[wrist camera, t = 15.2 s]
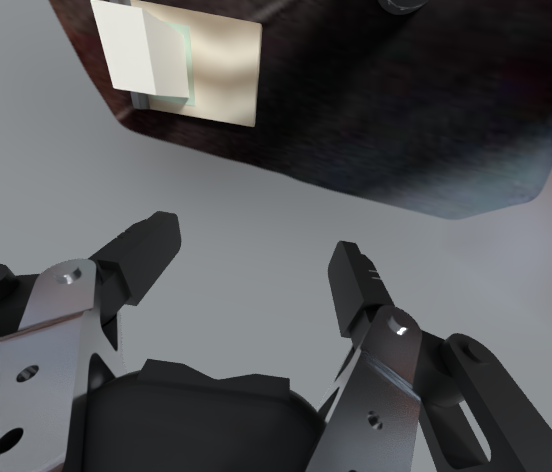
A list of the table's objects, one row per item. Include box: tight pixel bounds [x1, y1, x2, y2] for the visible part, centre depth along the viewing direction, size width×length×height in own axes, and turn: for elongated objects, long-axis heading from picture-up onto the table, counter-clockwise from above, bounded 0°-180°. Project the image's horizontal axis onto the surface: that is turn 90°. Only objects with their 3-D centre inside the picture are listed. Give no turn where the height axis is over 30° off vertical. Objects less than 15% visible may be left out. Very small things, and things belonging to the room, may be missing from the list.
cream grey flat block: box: [110, 0, 262, 127], centre depth 28 cm, size 12×18×4 cm, turn 82°
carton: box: [91, 0, 189, 98], centre depth 25 cm, size 5×7×9 cm
